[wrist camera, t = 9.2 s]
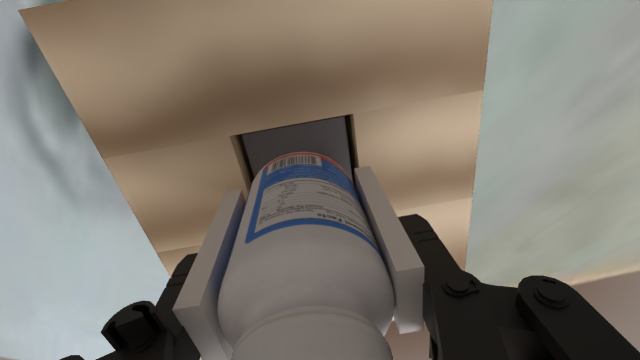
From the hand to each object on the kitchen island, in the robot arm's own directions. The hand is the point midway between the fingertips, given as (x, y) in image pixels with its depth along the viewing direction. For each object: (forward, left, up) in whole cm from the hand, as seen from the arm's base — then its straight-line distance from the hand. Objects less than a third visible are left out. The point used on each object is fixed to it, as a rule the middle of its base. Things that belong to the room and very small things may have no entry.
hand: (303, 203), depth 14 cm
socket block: (0, 0, -13) cm, 13 cm away
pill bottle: (0, 0, -1) cm, 1 cm away
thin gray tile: (0, 0, -5) cm, 5 cm away
